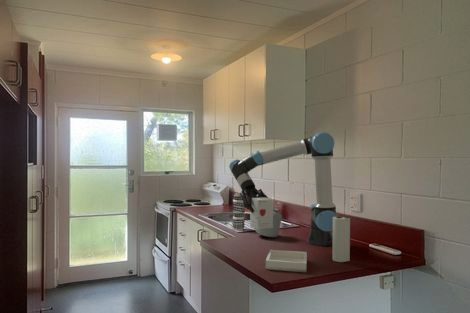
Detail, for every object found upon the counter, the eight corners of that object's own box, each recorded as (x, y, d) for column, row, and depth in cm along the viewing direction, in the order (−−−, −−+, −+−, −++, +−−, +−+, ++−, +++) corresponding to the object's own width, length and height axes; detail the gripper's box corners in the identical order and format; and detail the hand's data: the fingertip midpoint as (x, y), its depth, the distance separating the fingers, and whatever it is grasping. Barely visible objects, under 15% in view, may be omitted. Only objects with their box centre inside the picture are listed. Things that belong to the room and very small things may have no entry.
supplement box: (257, 229, 169) (257, 199, 169) (249, 226, 177) (249, 197, 177) (273, 228, 173) (273, 198, 173) (265, 224, 181) (265, 196, 181)
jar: (279, 233, 225) (279, 195, 225) (288, 238, 211) (288, 198, 211) (252, 234, 220) (252, 196, 220) (259, 240, 206) (260, 199, 206)
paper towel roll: (330, 260, 166) (330, 217, 166) (336, 258, 171) (336, 215, 171) (343, 263, 161) (344, 219, 161) (349, 261, 165) (350, 217, 165)
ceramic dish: (306, 260, 166) (306, 252, 166) (306, 272, 149) (306, 263, 149) (270, 257, 170) (270, 249, 170) (265, 269, 153) (265, 260, 153)
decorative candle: (229, 228, 237) (229, 193, 237) (239, 226, 243) (239, 192, 243) (237, 230, 230) (238, 194, 230) (247, 229, 236) (248, 193, 236)
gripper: (258, 186, 194) (277, 218, 182) (226, 189, 180) (244, 223, 168) (264, 178, 190) (285, 209, 178) (232, 179, 176) (251, 213, 164)
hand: (265, 216), depth 173 cm, fingers closed on supplement box, 10 cm apart
